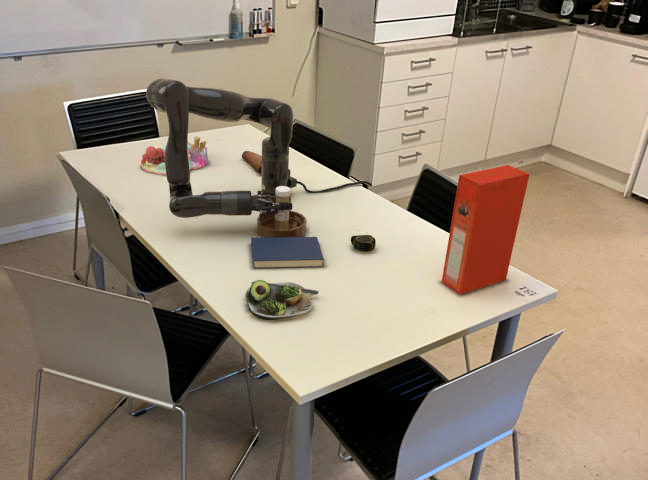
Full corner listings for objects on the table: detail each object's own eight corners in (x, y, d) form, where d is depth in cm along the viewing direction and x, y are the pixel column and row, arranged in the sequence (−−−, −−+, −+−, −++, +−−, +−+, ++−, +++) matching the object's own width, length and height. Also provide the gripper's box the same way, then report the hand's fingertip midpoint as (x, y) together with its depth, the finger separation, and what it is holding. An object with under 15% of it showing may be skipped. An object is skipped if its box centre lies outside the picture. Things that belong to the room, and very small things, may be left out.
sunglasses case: (279, 171, 252) (271, 158, 248) (264, 182, 252) (255, 169, 247) (261, 156, 266) (253, 143, 261) (247, 166, 265) (238, 153, 261)
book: (251, 245, 201) (251, 237, 200) (316, 244, 204) (317, 236, 202) (253, 268, 190) (253, 260, 188) (323, 267, 192) (323, 259, 191)
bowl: (282, 216, 220) (282, 205, 218) (315, 232, 211) (316, 221, 209) (247, 229, 210) (247, 218, 208) (280, 247, 201) (280, 235, 199)
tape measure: (371, 243, 206) (372, 232, 204) (377, 254, 200) (378, 242, 198) (350, 244, 205) (350, 233, 203) (355, 255, 199) (356, 243, 197)
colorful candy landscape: (157, 150, 268) (155, 127, 263) (214, 155, 266) (213, 132, 261) (135, 172, 247) (133, 148, 242) (197, 178, 245) (196, 154, 240)
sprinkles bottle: (271, 228, 210) (272, 188, 202) (281, 223, 213) (282, 184, 205) (282, 232, 207) (283, 192, 200) (291, 228, 210) (293, 188, 203)
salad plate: (311, 282, 184) (312, 267, 182) (327, 317, 170) (328, 302, 167) (241, 288, 180) (241, 273, 178) (252, 324, 166) (252, 309, 163)
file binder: (440, 282, 187) (459, 174, 170) (485, 268, 195) (507, 164, 178) (460, 295, 182) (481, 185, 165) (505, 280, 189) (530, 174, 173)
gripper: (236, 201, 196) (294, 201, 198) (235, 182, 208) (289, 182, 210) (236, 224, 200) (293, 224, 202) (235, 204, 212) (288, 204, 214)
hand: (291, 202), depth 206 cm, fingers closed on sprinkles bottle, 4 cm apart
